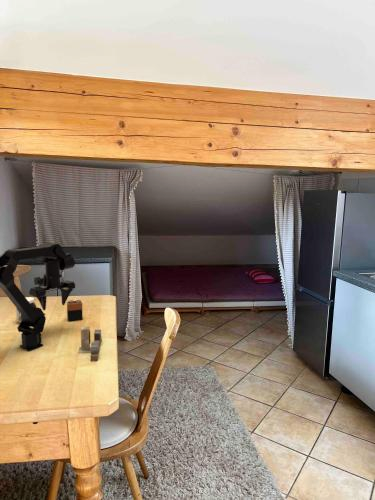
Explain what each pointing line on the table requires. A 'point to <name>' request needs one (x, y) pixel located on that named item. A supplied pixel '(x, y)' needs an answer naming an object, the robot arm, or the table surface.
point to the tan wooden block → (85, 338)
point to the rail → (94, 346)
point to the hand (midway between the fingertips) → (53, 307)
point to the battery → (74, 310)
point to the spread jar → (30, 300)
